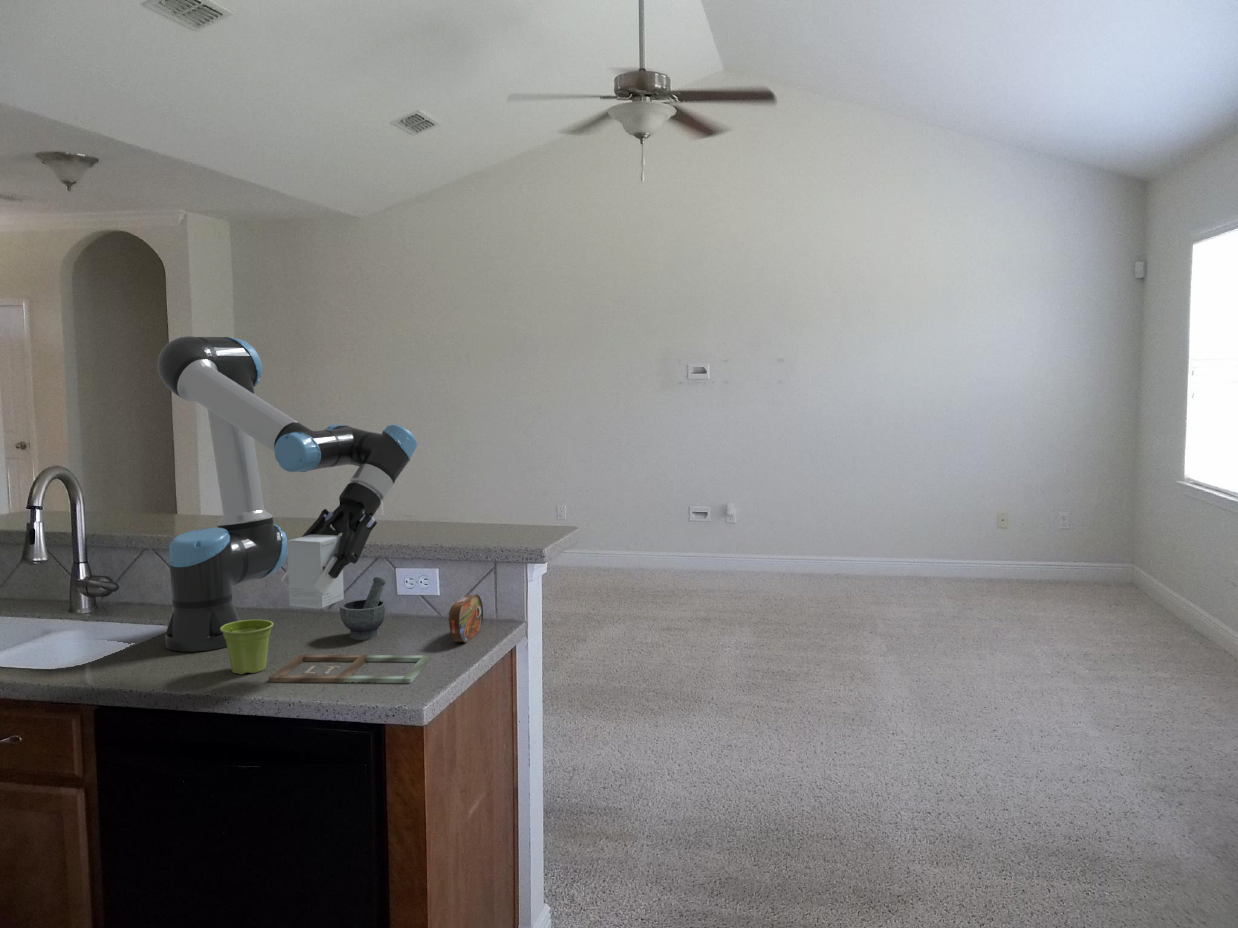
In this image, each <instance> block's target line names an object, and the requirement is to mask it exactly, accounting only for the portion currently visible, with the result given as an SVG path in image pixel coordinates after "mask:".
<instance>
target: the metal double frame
mask: <svg viewBox="0 0 1238 928" xmlns="http://www.w3.org/2000/svg"><path fill="white" fill-rule="evenodd" d="M431 657H432V656H431V655H419V654H418V655H414V654H413V655H411V654H410V655H406V654H405V655H404V654H402V655H401V654H398V655H397V654H395V655H392V654H390V655H389V654H386V655H385V654H384V655H383V654H379V655H378V654H373V655H372V654H298V655H297V656H295V657H293V659H292V660H290V661H289V662H288V663H286V664H285V665H283V666H282V667H281V668H280V669H278V670H277V671H275V673H273V674H272V675H270V676H269V677H268V682H269V683H345V682H347V683H348V682H349V683H351V682H354V683H355V684H356V683H357V684H360V683H361V682H362V683H363V682H364V683H363V684H367V682H370V683H371V684H381V683H382V684H411V683H412V682H413V681H414V680H415V679H416V678H417V676H418V675H419V674H420V673H421V672H422V670H424V668H425V667H426V666H427V665H428V663H429V662H430V661H431V660H432V658H431ZM303 662H352V663H351V664H349V665H348V666H347V667H346V668H344V670H343V671H342V672H341V673H339V674H337V675H331V674H330V675H329V673H330V672H331V671H332V670H334V669H336V668H337V669H338V668H340V667H341V666H340V665H339V666H338V665H331V666H330V665H327V667H326V668H328V669H327V670H326V671H324V673H323V674H324V675H319V674H316V671H315V672H314V671H313V672H312V670H313V669H314V668H316V665H311V666H310V667H309V668H308V669H307V670H305V671H304V672H303V674H290V672H292V671H294V669H296V668H297V667H298V666H299V665H301V664H302V663H303ZM366 662H387V663H388V662H389V663H390V662H392V663H394V662H396V663H398V662H401V663H403V662H404V663H406V662H407V663H408V662H409V663H412V662H414V663H415V662H416V663H415V664H414V665H413V666H412V667H411V669H410V670H409V671H408V672H407V673H406V674H405V675H353V674H354V673H356V671H358V670H359V669H358V668H361V667H362V666H363V665H364V664H365V663H366ZM426 664H427V665H426ZM425 665H426V666H425ZM420 671H421V672H420ZM305 674H307V675H305ZM313 674H314V675H313ZM359 682H360V683H359ZM375 682H376V683H375ZM362 683H361V684H362ZM370 683H369V684H370Z"/></svg>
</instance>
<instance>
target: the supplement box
mask: <svg viewBox="0 0 1238 928" xmlns="http://www.w3.org/2000/svg"><path fill="white" fill-rule="evenodd" d="M341 536H342V535H338V536H337V535H307V536H304V537H302V536H300V537H297V538H296V537H295V538H292V539H289V540H288V541H287V553H288V555H287V570H288V577H289V588H288V596H289V597H288V598H289V600H288V601H289V606H290V607H294V608H295V607H297V608H308V609H320V610H321V609H323V608H325V607H327V606H329V605H333V604H335V603H338V602H341V601H343V600H344V599H345V598H344V597H345V595H344V569H343V570H342V571H341V573H340V574H339V576H338V577H337V578H335V580H334V581H333V583H332V585H331V586H330V588H329V589H328V591H327V592H326V594H325V595H322V594H321V593H320V592H319V591H317V590H316V589H315V588H314V587H313V586H314V584H315V583H316V581H317V580H318V578H319V577H320V575H321V574H322V572H323V571H324V569H325V568H326V566H327V564H328V563H329V561H330V560H331V558H332V557H333V558H336V557H335V556H334V554H335V555H336V553H338V549H339V544H340V540H341ZM336 559H337V558H336Z"/></svg>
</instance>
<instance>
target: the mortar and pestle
mask: <svg viewBox="0 0 1238 928" xmlns="http://www.w3.org/2000/svg"><path fill="white" fill-rule="evenodd" d="M372 581H373V583H372V585H371V588H370V590H369V593H368V595H367V597H366V598H364V599H363V598H362V599H355V600H350V601H346V602H343V603H341V605H340V606H339V616H340V620H341V621H342V623H343V625H344V626H345V627H346V628H347V629H348V630H349V638H351V639H352V640H360V641H363V640H371V639H374V638H377V637H379V635H380V630H379V629H380V626H382V624H383V622H384V621H385V618H386V616H387V611H388V603H387V601H385V600H383V599H381V597H382V594H383V591H384V590H383V589H384V586H385V585H386V583H387V580H386V579H384V577H381V576H375V577H373V580H372Z"/></svg>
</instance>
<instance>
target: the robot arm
mask: <svg viewBox="0 0 1238 928" xmlns="http://www.w3.org/2000/svg"><path fill="white" fill-rule="evenodd" d="M156 364H157V368H156V369H157V373H158V376H159V378H160V381H161V382H162V383H163V384H164V385H165V387H166V388H168V390H170V391H171V392H172V393H173V394H175V395H177V396H178V397H179V398H180V399H183V400H184V401H186V402H196V403H198V404H199V405H201V406H203V407H204V408H206V409H207V410H206V411H207V414H208V415H207V417H208V423H209V429H210V435H211V443H212V446H213V447H212V448H213V455H214V462H215V468H216V469H215V470H216V474H217V482H218V487H219V488H218V489H219V494H220V501H221V507H222V513H223V514H222V517H221V518H220V520H219V521H218V523H216V524H217V527H205V528H202V529H195V530H190V531H186V532H185V533H181V534H179V535H177V536H176V537H174V538H173V539H172V540H171V542H170V543H169V549H168V551H169V555H168V563H169V575H170V585H171V586H170V587H171V588H170V589H171V604H172V605H171V606H172V608H171V609H172V611H171V614H170V617H169V621H168V624H167V627H166V628H167V629H166V631H165V635H164V636H165V637H164V641H165V643H164V644H165V648H166V649H168V650H170V651H176V652H188V653H189V652H202V651H211V650H212V651H213V650H216V649H217V650H218V649H222V648H227V644H226V639H225V638H224V635H223V632H221V630H220V628H221V627H222V626H223V625H225V624H228V623H231V622H236V621H241V619H240V617H239V616H238V613H237V610H236V608H235V605H234V602H233V589H232V588H233V586H236V585H240V584H243V583H246V582H249V581H253V580H258V579H264V578H266V577H268V576H270V575H272V574H275V573H277V572H278V571H279V570H280V569H281V568H282V567H283V565H284V564H285V562H286V560H287V559H288V553H287V541H289V540H288V537H287V534H286V532H285V531H282V528H281V527H280V526H279V525H278V524H275V523H274V516H273V515H272V514H271V513H269V512H268V511H267V510H266V509H265V506H264V499H263V492H262V485H261V478H260V470H259V465H258V459H257V458H258V457H257V452H256V446H255V441H257V442H258V443H260V444H262V445H263V446H265V447H266V448H268V449H269V450H271V451H272V452H274V458H275V461H277V463H278V465H279V467H280V468H281V469H283V470H285V471H287V472H292V473H298V472H299V473H306V472H309V471H314V470H319V469H326V468H333V467H340V466H341V467H342V466H345V465H346V466H347V465H349V466H350V465H351V466H356V467H358V468H357V470H356V471H355V472H354V474H353V475H352V477H351V478H350V480H349V483H347V485H346V486H345V487H344V489H343V490H342V492H341V493H340V495H339V497H338V498H339V499H338V500H339V505H338V506H337V507H336V508H335V509H334V510H332V511H329V510H328V509H327V508H324V509H323V510H321V513H320V514H319V516H318V518H316V520H315V521H314V522H313V523H312V525H311V526H309V528H308V529H307V530H306V531H305V532H304V533H303V535H302V536H301V537H304V536H307V535H337V536H341V540H340V544H339V549H338V553H336V555H335V554H334V556H335V557H336V558H337V559H336V558H333V557H332V558H331V560H330V561H329V563H328V564H327V566H326V568H325V569H324V571H323V572H322V574H321V575H320V577H319V578H318V580H317V581H316V583H315V584H314V586H313V587H314V588H315V589H316V590H317V591H319V592H320V593H321V594H322V595H325V594H326V592H327V591H328V589H329V588H330V586H331V585H332V583H333V581H334V580H335V578H337V577H338V576H339V574H340V573H341V571H342V570H343V571H344V568H345V567H346V566H348V565H349V564H351V563H352V564H354V565H355V564H357V563H358V561H359V559H360V556H361V555H362V552H363V550H364V548H365V546H366V543H367V541H368V539H369V537H370V534H371V532H372V531H373V529H374V528H375V527H376V526H377V524H378V522H377V521H376V520H375V518H374V515H376V512H377V511H378V509H379V508H380V506H381V504H382V503H381V502H382V501H384V499H385V498H386V497H387V494H388V493H389V492H390V490H391V488H392V487H393V486H394V484H395V483H396V480H397V479H398V477H399V476H400V474H401V473H402V472H403V471H404V468H406V466H407V465H408V464H409V462H410V461H411V459H412V457H413V455H414V453H415V450H416V449H417V448H418V441H417V439H416V438H415V435H414V434H413V433H412V432H411V431H410V430H408V428H405V427H404V426H402V425H398V424H393V423H392V424H389V425H387V426H386V427H385V429H384V430H382V433H380V432H379V433H378V432H372V431H368V430H364V429H360V428H357V427H356V428H355V427H352V426H350V425H346V424H345V425H343V424H336V423H335V424H329V425H328V426H327V427H326V428H324V429H322V430H312V429H311V428H308V427H307V426H306V425H303V424H302V423H300V422H299V421H298V420H295V419H294V418H292V417H291V416H289V415H287V414H286V413H285V412H283V411H281V410H280V409H279V408H277V407H275V406H274V405H272V404H270V403H269V402H268V401H266V400H264V399H262V398H261V397H259V396H258V395H257V394H255V389H254V388H255V387H256V386H257V385H258V384H259V382H260V378H262V374H263V364H262V360H261V358H260V355H259V353H258V352H257V351H256V349H255V348H254V346H252V345H251V344H250V343H248V342H247V341H246V340H243V339H241V338H234V337H230V336H189V335H187V336H181V337H177V338H175V339H173V340H170V341H169V342H168V343H166V345H164V347H163V348H162V349H161V351H160V352H159V355H158V359H157V363H156ZM340 534H341V535H340ZM280 582H282V584H283V585H285V586H286V587H287V588H288V589H289V577H288V569H287V570H286V571H285V573H284V575H282V577H281V579H280Z"/></svg>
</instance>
